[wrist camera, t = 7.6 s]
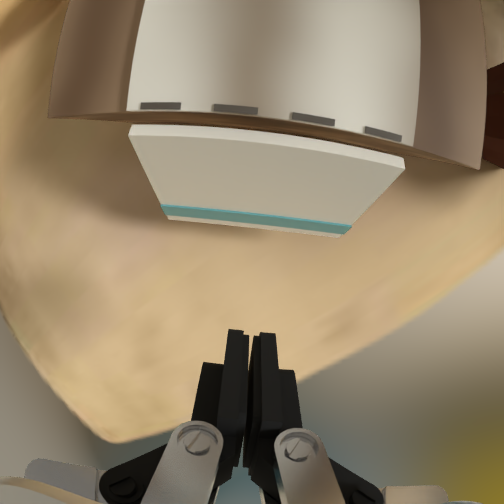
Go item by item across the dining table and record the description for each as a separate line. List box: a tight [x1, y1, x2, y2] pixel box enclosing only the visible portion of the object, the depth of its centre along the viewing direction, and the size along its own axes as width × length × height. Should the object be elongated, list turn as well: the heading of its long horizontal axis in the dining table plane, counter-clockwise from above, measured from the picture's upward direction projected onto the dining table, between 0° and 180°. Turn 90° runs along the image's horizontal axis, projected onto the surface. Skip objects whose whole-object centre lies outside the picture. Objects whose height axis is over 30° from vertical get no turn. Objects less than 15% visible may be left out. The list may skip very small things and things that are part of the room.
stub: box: [128, 125, 405, 238], centre depth 13 cm, size 10×8×1 cm
